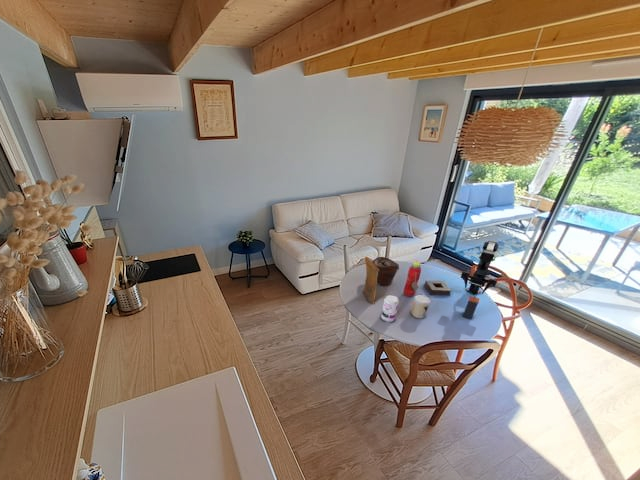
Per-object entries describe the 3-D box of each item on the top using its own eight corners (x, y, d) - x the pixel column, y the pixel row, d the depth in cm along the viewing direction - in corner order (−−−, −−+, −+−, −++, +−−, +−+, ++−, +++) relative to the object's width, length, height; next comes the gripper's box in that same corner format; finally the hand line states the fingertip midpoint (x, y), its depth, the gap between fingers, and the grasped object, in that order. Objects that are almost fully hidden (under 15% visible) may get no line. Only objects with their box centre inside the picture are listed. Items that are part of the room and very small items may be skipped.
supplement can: (394, 315, 179) (399, 295, 172) (394, 323, 172) (399, 303, 165) (381, 312, 182) (385, 293, 174) (380, 320, 175) (384, 301, 167)
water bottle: (416, 301, 192) (425, 269, 180) (404, 299, 194) (412, 267, 182) (413, 291, 202) (422, 260, 190) (401, 290, 204) (409, 259, 192)
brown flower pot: (373, 272, 226) (376, 252, 218) (398, 279, 216) (403, 259, 207) (364, 282, 214) (368, 261, 205) (391, 290, 204) (396, 268, 195)
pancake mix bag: (367, 304, 189) (373, 268, 175) (359, 289, 206) (364, 254, 192) (377, 304, 189) (384, 268, 176) (368, 288, 206) (374, 254, 192)
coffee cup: (424, 320, 174) (429, 305, 168) (408, 315, 179) (412, 300, 173) (426, 312, 181) (431, 297, 175) (411, 308, 186) (415, 293, 180)
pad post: (463, 312, 181) (469, 295, 175) (472, 315, 179) (479, 298, 172) (462, 316, 178) (469, 299, 171) (471, 319, 175) (478, 302, 169)
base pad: (442, 285, 209) (443, 281, 207) (449, 295, 198) (451, 290, 196) (424, 285, 210) (425, 280, 208) (430, 294, 199) (432, 290, 197)
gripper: (466, 259, 179) (458, 281, 176) (502, 268, 168) (494, 291, 165) (464, 267, 188) (456, 287, 185) (498, 275, 178) (490, 297, 175)
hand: (473, 290), depth 177 cm, fingers open, 9 cm apart
